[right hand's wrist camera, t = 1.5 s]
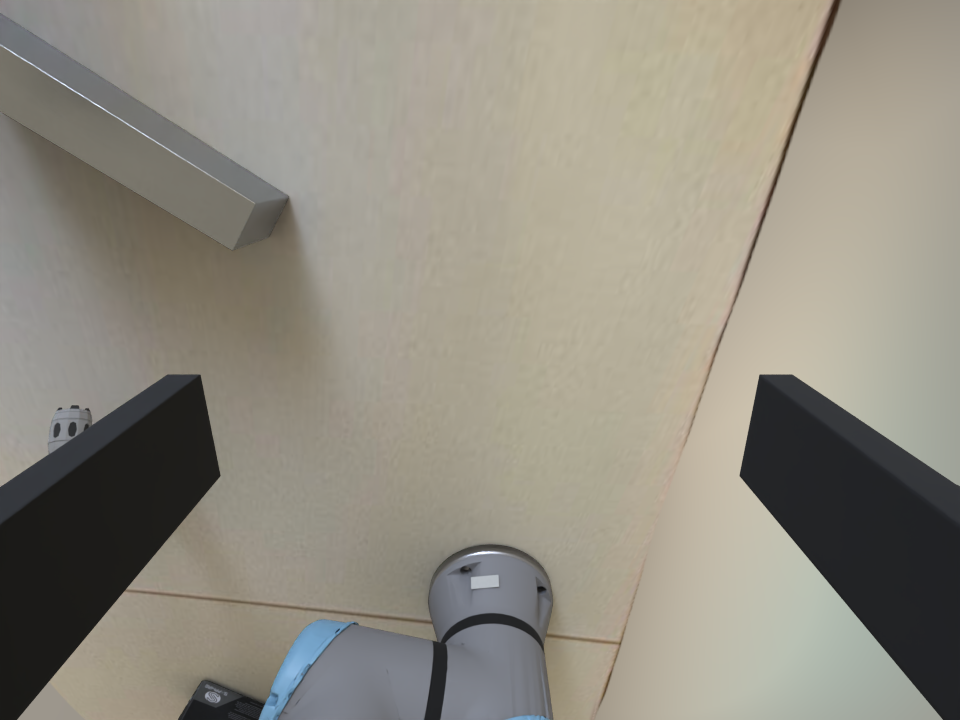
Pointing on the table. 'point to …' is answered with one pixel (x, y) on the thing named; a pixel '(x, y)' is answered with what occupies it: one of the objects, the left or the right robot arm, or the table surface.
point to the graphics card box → (220, 705)
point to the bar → (132, 142)
